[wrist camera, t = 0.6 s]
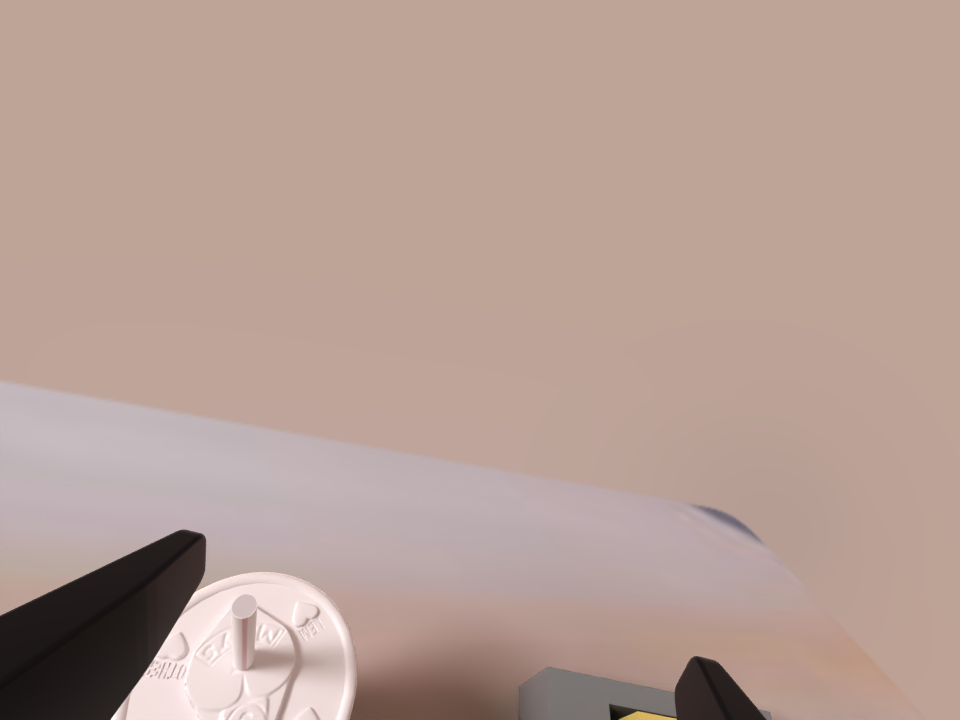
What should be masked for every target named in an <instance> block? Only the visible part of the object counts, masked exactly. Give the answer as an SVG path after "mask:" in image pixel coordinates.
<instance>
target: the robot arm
mask: <svg viewBox="0 0 960 720" xmlns="http://www.w3.org/2000/svg"><path fill="white" fill-rule="evenodd" d="M205 561H206V538H205V536H204V535H203V534H201V533H197V532H193V531H189V530H179V531H177V532H174V533H172V534H170V535H168V536H166V537H164V538H162V539H160V540H158V541H156V542H154V543H151V544H149V545H147V546H145V547H143V548H141V549H139V550H137V551H135V552H133V553H130V554H128V555H126V556H124V557H122V558H120V559H118V560H116V561H114V562H112V563H110V564H107V565H105V566H103V567H101V568H99V569H97V570H95V571H93V572H91V573H89V574H86V575H84V576H82V577H80V578H78V579H76V580H74V581H72V582H70V583H68V584H66V585H63V586H61V587H59V588H57V589H55V590H53V591H51V592H49V593H47V594H45V595H43V596H40V597H38V598H36V599H34V600H32V601H30V602H28V603H26V604H24V605H22V606H19V607H17V608H15V609H13V610H11V611H9V612H7V613H5V614H3V615H1V616H0V720H111V719H112V717H113V716H114V714H115V713H116V712H117V710H118V709H119V708H120V706H121V705H122V704H123V702H124V701H125V700H126V698H127V697H128V695H129V694H130V693H131V691H132V690H133V689H134V687H135V686H136V685H137V683H138V682H139V680H140V679H141V678H142V676H143V675H144V673H145V672H146V670H147V669H148V668H149V666H150V665H151V663H152V661H153V660H154V658H155V657H156V655H157V653H158V652H159V650H160V649H161V647H162V645H163V644H164V642H165V640H166V639H167V637H168V635H169V634H170V632H171V630H172V629H173V627H174V625H175V624H176V622H177V620H178V619H179V617H180V615H181V614H182V612H183V610H184V609H185V607H186V605H187V604H188V602H189V601H190V599H191V597H192V596H193V594H194V592H195V591H196V589H197V587H198V586H199V584H200V582H201V580H202V578H203V575H204V572H205ZM675 708H676V716H677V720H767V719H766V718H765V717H764V716H763V715H762V713H761V712H760V711H759V710H758V709H757V707H756V706H755V705H754V704H753V703H752V701H751V700H750V699H749V698H748V697H747V696H746V694H745V693H744V692H743V691H742V690H741V688H740V687H739V686H738V685H737V684H736V682H735V681H734V680H733V679H732V678H731V677H730V675H729V674H728V673H727V672H726V671H725V669H724V668H723V667H722V666H721V665H720V664H719V663H718V662H716V661H714V660H711V659H707V658H703V657H699V656H694V657H692V658H691V659H690V661H689V662H688V664H687V666H686V668H685V670H684V672H683V674H682V675H681V677H680V679H679V681H678V683H677V685H676V688H675Z"/></svg>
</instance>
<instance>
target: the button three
mask: <svg viewBox="0 0 960 720" xmlns="http://www.w3.org/2000/svg"><path fill="white" fill-rule="evenodd" d="M619 720H677V719H675V718H670V717H665V716H659V715H654V714H649V713H644V712H639V711H637V712H635V713H633V714H630V715H628V716H626V717H624V718H621V719H619Z"/></svg>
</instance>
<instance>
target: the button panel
mask: <svg viewBox="0 0 960 720" xmlns="http://www.w3.org/2000/svg"><path fill="white" fill-rule="evenodd" d="M637 711H639V712H644V713H649V714H654V715H659V716H665V717H670V718H675V719H677V716H676V708H675V693H674V692H669V691H664V690H659V689H655V688H650V687H645V686H640V685H635V684H630V683H625V682H620V681H615V680H610V679H605V678H601V677H596V676H591V675H586V674H581V673H576V672H571V671H566V670H561V669H556V668H552V667H546V668H545V669H543V670H542V671H541V672H539V673H538V674H536V675H535V676H534V677H532V678H531V679H529V680H528V681H527V682H525V683H524V684H522V685H521V686H520V688H519V720H619V719H621V718H624V717H626V716H628V715H630V714H633V713H635V712H637ZM759 711H760V712H761V713H762V715H763V716H764V717H765V718H766V719H767V720H772V717H771V714H770V712H767V711H762V710H759Z"/></svg>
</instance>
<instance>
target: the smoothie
mask: <svg viewBox="0 0 960 720" xmlns="http://www.w3.org/2000/svg"><path fill="white" fill-rule="evenodd" d="M357 674H358V669H357V655H356V648H355V644H354V640H353V637H352V634H351V631H350V628H349V626H348V624H347V621H346V619H345V618H344V616H343V614H342V613H341V611H340V610H339V608H338V607H337V606H336V604H335V603H334V602H333V601H332V600H331V599H330V598H329V597H328V596H327V595H326V594H325V593H324V592H323V591H321V590H320V589H318V588H317V587H316V586H314V585H312V584H310V583H309V582H307V581H304V580H302V579H300V578H297V577H294V576H291V575H286V574H281V573H273V572H256V573H247V574H241V575H236V576H233V577H229V578H226V579H223V580H220V581H217V582H215V583H213V584H210V585H208V586H206V587H204V588H202V589H200V590H198V591H197V592H195V593H194V594H193V596H192V597H191V599H190V601H189V602H188V604H187V605H186V607H185V609H184V610H183V612H182V614H181V615H180V617H179V619H178V620H177V622H176V624H175V625H174V627H173V629H172V630H171V632H170V634H169V635H168V637H167V639H166V640H165V642H164V644H163V645H162V647H161V649H160V650H159V652H158V653H157V655H156V657H155V658H154V660H153V661H152V663H151V665H150V666H149V668H148V669H147V670H146V672H145V673H144V675H143V676H142V678H141V679H140V680H139V682H138V683H137V685H136V686H135V687H134V689H133V690H132V691H131V693H130V694H129V695H128V697H127V698H126V700H125V701H124V702H123V704H122V705H121V706H120V708H119V709H118V710H117V712H116V713H115V714H114V716H113V717H112V719H111V720H350V717H351V712H352V709H353V705H354V700H355V695H356V688H357Z"/></svg>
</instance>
